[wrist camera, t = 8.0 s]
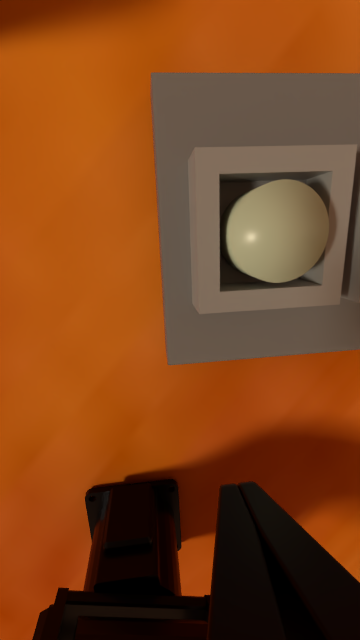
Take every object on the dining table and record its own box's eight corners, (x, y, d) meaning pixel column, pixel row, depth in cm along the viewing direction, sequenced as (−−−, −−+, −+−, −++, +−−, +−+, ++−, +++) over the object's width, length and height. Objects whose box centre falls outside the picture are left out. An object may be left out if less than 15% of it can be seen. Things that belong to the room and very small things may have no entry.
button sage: (294, 272, 16) (324, 279, 13) (218, 276, 16) (233, 285, 13) (300, 188, 15) (334, 177, 12) (217, 190, 14) (233, 180, 12)
